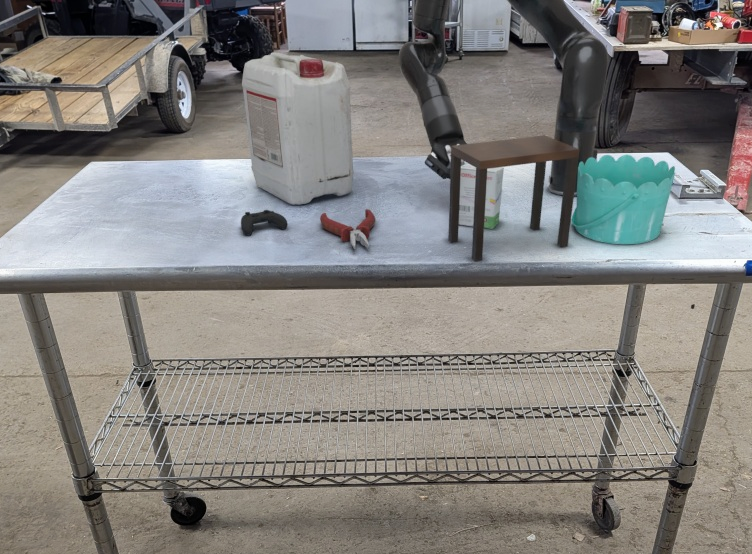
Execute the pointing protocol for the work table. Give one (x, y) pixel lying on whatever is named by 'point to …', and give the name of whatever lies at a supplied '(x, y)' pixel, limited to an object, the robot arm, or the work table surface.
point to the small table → (511, 155)
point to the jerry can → (299, 126)
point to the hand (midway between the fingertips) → (463, 193)
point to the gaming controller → (261, 220)
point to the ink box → (469, 195)
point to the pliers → (350, 229)
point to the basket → (622, 199)
